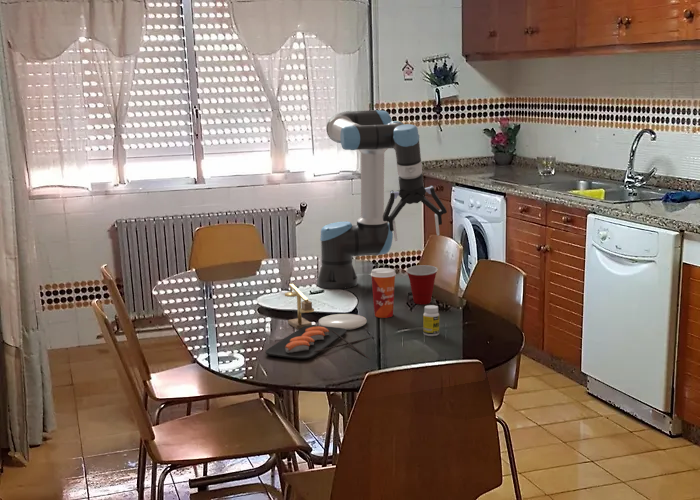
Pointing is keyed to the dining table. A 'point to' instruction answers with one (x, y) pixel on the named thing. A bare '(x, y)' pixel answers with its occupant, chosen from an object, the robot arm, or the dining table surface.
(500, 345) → the dining table surface
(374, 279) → the coffee cup
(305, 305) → the balance
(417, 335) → the dining table surface
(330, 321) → the white round disc
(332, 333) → the sushi plate
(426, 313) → the supplement bottle
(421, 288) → the plastic cup
